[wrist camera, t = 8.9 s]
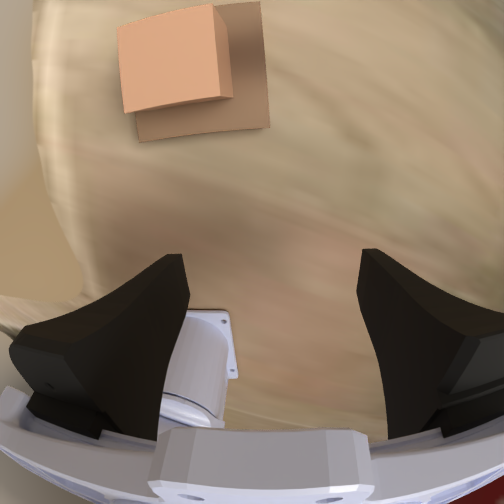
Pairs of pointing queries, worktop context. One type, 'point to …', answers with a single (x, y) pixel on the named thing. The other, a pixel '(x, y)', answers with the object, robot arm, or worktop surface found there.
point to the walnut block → (243, 81)
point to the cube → (174, 59)
